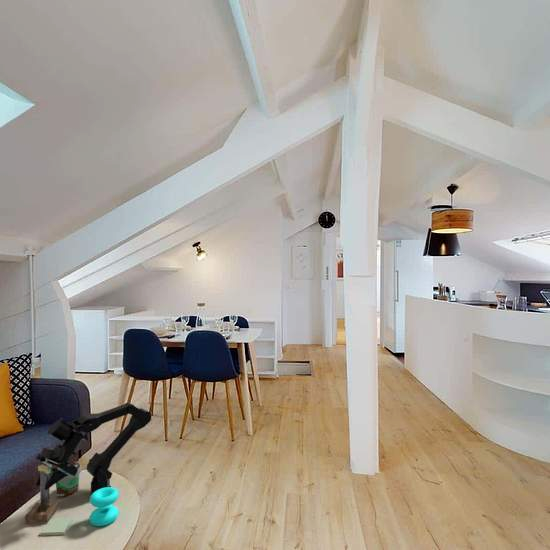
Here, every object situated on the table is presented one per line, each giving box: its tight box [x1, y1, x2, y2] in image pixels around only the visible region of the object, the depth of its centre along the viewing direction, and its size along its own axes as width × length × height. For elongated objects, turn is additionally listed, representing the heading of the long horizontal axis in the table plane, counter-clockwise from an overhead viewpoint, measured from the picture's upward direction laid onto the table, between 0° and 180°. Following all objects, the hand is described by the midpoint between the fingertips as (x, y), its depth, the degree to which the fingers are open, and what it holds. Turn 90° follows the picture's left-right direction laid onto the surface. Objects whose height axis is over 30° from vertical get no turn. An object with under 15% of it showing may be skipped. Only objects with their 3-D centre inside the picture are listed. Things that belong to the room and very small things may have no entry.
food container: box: [55, 461, 82, 499], centre depth 162 cm, size 12×6×10 cm, turn 168°
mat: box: [39, 517, 75, 537], centre depth 140 cm, size 8×8×1 cm
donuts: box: [89, 486, 120, 527], centre depth 145 cm, size 10×10×10 cm
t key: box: [37, 464, 53, 506], centre depth 145 cm, size 6×3×14 cm, turn 62°
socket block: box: [24, 501, 59, 525], centre depth 146 cm, size 8×8×3 cm
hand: (41, 487), depth 144 cm, fingers closed on t key, 5 cm apart
